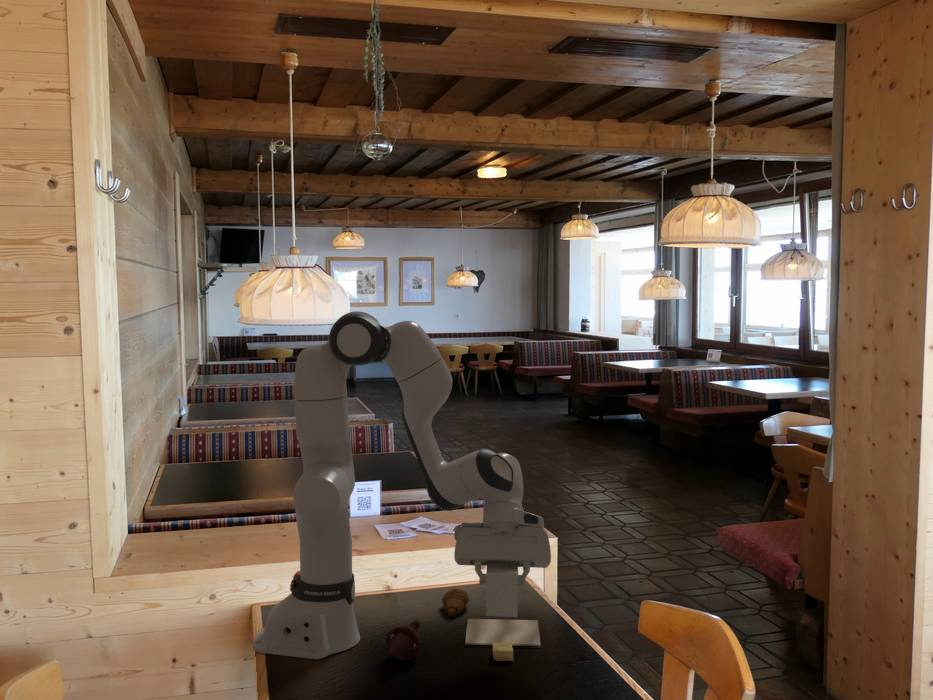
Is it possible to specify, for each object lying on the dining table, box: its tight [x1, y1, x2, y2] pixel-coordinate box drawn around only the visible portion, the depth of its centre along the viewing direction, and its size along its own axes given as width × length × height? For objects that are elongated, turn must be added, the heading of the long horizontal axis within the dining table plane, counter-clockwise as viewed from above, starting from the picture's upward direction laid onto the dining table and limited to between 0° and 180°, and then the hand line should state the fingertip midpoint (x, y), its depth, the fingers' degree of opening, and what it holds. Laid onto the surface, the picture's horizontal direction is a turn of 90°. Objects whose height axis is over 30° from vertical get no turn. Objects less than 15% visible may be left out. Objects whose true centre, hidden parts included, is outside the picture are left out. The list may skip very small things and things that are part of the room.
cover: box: [485, 562, 519, 618], centre depth 163 cm, size 6×6×9 cm
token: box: [491, 642, 514, 662], centre depth 164 cm, size 4×4×2 cm
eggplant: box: [385, 619, 421, 661], centre depth 163 cm, size 7×7×15 cm
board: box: [464, 618, 541, 648], centre depth 175 cm, size 16×13×1 cm
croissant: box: [441, 587, 471, 618], centre depth 190 cm, size 14×7×5 cm, turn 173°
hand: (502, 584), depth 162 cm, fingers closed on cover, 6 cm apart
